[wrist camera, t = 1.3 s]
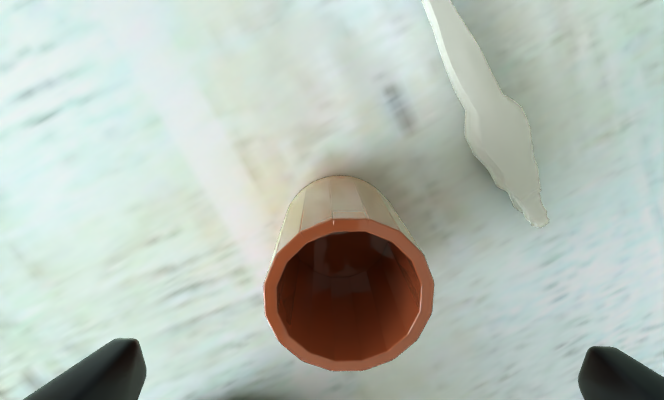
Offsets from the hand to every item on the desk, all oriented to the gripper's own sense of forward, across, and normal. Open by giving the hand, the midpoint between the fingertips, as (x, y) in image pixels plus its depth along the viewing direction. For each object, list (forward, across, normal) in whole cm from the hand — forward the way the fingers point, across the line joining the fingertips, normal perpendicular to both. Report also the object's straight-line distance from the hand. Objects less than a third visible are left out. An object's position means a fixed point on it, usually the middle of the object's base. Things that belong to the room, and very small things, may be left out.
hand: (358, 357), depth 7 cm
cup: (+11, 0, +3) cm, 12 cm away
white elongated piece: (+13, -6, -4) cm, 14 cm away
